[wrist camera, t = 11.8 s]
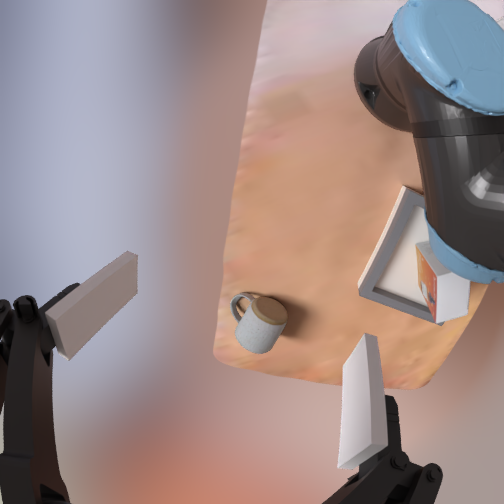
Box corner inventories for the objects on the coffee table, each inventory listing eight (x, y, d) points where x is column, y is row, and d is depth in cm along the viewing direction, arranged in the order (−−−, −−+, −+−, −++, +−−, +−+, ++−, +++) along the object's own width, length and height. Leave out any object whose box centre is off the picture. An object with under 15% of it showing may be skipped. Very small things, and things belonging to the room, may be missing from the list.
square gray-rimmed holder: (402, 185, 36) (410, 190, 33) (482, 229, 34) (493, 238, 31) (357, 283, 44) (359, 295, 41) (435, 313, 43) (441, 325, 39)
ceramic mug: (293, 305, 49) (286, 331, 43) (275, 334, 53) (267, 361, 46) (240, 280, 50) (226, 303, 44) (227, 311, 54) (213, 335, 47)
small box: (414, 242, 37) (436, 275, 28) (444, 235, 35) (472, 265, 26) (417, 286, 40) (434, 325, 30) (446, 279, 38) (468, 315, 28)
